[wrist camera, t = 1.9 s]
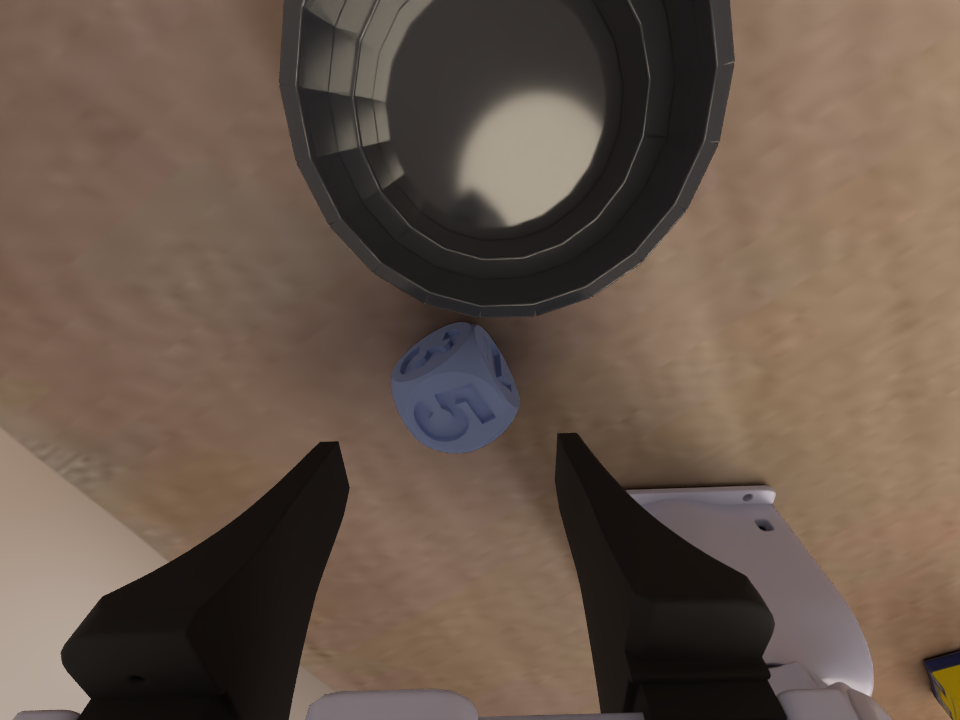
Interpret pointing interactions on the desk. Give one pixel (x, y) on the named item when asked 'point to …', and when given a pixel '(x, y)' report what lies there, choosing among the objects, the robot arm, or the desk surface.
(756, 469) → the desk surface
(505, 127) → the dark grey round bowl
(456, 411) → the decorative dice
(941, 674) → the supplement box
